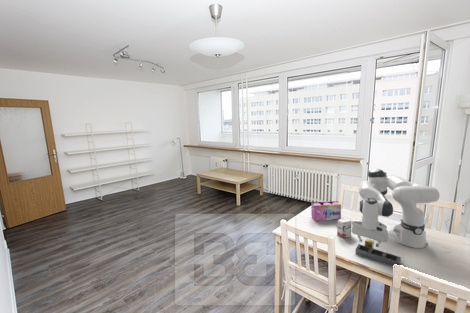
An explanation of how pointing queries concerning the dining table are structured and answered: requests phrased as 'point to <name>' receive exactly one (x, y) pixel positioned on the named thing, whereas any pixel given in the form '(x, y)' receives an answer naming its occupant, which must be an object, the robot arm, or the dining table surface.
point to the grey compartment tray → (378, 255)
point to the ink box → (344, 227)
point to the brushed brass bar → (369, 243)
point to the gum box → (326, 210)
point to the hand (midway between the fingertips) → (368, 243)
